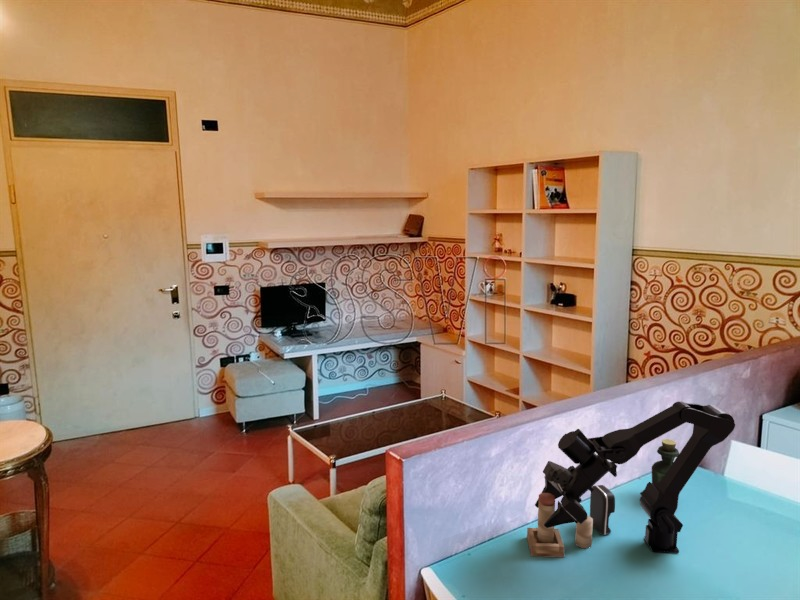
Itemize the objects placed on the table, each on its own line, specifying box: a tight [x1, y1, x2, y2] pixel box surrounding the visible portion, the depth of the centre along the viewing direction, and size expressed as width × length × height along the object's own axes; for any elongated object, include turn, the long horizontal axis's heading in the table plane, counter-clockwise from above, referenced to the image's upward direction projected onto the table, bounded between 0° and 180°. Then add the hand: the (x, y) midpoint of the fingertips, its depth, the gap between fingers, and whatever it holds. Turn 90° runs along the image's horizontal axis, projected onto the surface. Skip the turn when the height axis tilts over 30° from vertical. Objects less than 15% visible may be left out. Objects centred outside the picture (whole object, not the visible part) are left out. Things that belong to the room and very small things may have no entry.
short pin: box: [574, 514, 594, 549], centre depth 149 cm, size 4×4×7 cm
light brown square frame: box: [526, 527, 565, 558], centre depth 148 cm, size 8×8×3 cm
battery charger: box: [589, 484, 616, 536], centre depth 155 cm, size 7×4×11 cm, turn 12°
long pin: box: [537, 492, 556, 544], centre depth 147 cm, size 4×4×13 cm
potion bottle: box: [651, 438, 680, 485], centre depth 169 cm, size 8×8×18 cm
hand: (540, 516), depth 147 cm, fingers open, 9 cm apart
